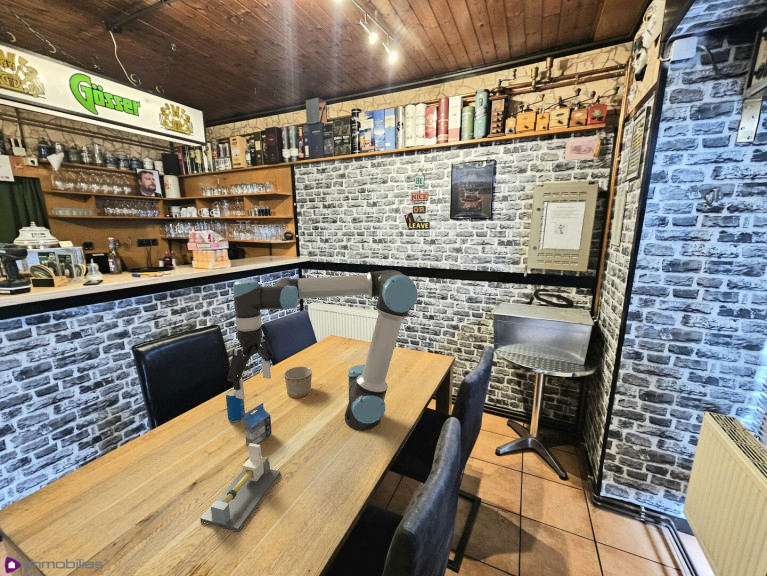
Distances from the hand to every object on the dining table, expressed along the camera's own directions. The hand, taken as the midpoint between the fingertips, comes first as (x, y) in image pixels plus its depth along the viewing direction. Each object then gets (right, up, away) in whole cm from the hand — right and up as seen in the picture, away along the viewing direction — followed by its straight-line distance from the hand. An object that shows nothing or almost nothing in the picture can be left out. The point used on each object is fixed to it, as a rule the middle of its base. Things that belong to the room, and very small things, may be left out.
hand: (254, 387), depth 106 cm
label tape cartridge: (-3, -24, +12) cm, 27 cm away
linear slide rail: (+2, -28, -13) cm, 31 cm away
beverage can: (-17, -21, +24) cm, 36 cm away
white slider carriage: (+3, -25, -8) cm, 26 cm away
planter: (+3, -17, +45) cm, 48 cm away
